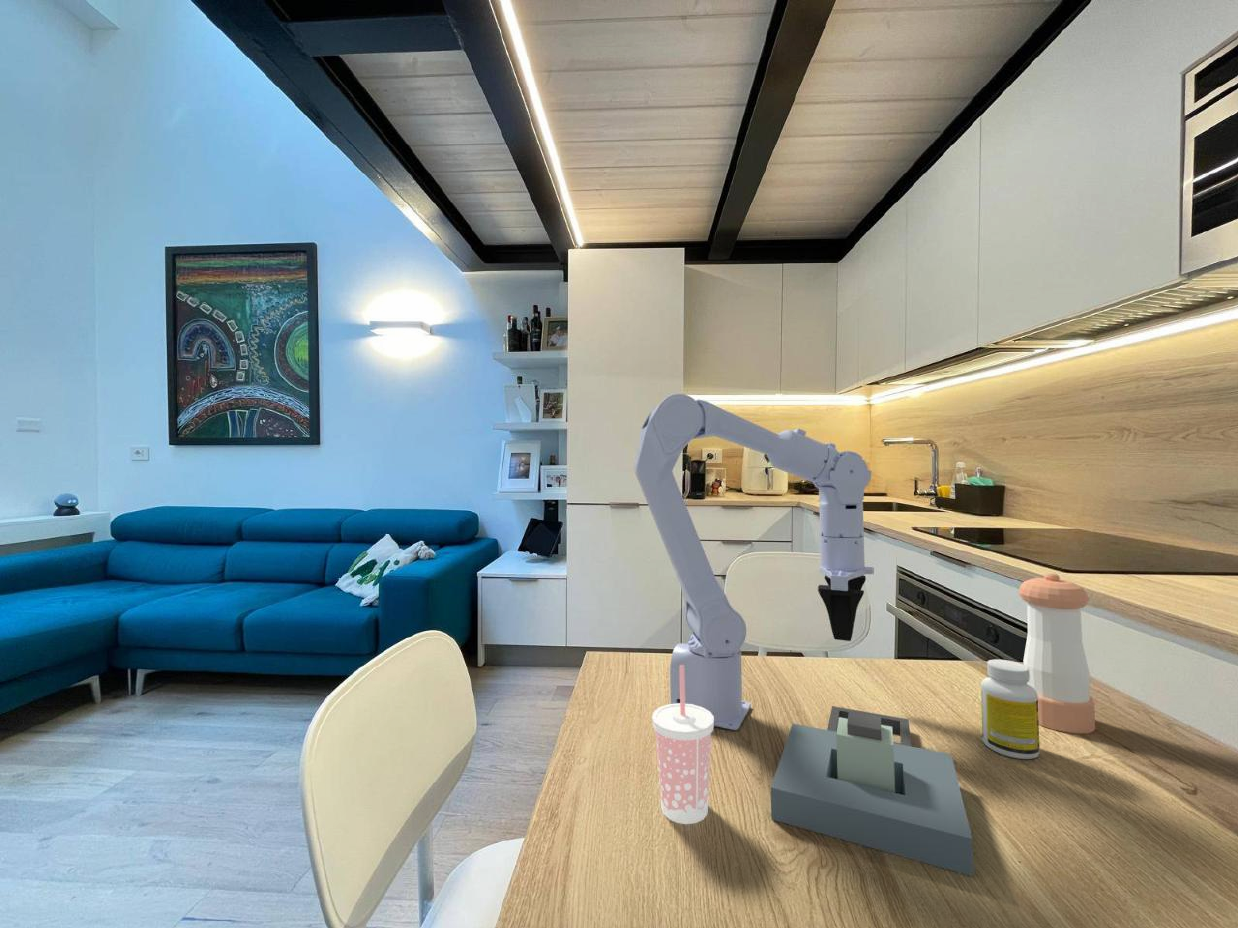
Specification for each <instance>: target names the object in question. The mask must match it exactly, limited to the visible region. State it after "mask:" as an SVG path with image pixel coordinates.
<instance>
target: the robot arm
mask: <svg viewBox="0 0 1238 928" xmlns="http://www.w3.org/2000/svg"><path fill="white" fill-rule="evenodd" d="M806 434H807V431H806V430H803V429H801V428H796V429H793V430H792V429H785V430H783V431H781V432H779V433H776V432H774V431H771V430H769V429H767V428H764V427H763V426H760V425H758V424H756V423H754V422H752V421H750V420H748V419H745V418H744V417H741V416H738V415H737V414H734V413H733V412H731V411H730V412H729V411H727V410H726V409H723V408H722V407H719V406H717V405H715V404H713V403H711V402H709V401H706V400H703V399H697V400H696V399H695V398H693V397H691V396H690V395H687V394H683V393H674V394H671V395H668V396H667V397H665V398H664V399H662V401H661V402H660V403H659V404H658V405H657V406H656V405H655V407H654V408H653V409H652V410H651V411H650V412H649V414H648V415H647V417H646V419H645V420H644V422H643V424H642V426H641V429H640V436H639V443H638V447H637V451H636V458H635V463H634V473H635V475H636V476H635V477H636V479H637V481H638V483H639V485H640V488H641V490H642V493H643V496H644V497H645V500H646V503H647V507H649V511H650V512H651V515H652V517H653V520H654V522H655V525H656V527H657V530H658V533H659V535H660V537H661V540H662V542H663V544H664V547H665V549H666V552H667V554H668V556H669V560H670V562H671V564H672V567H673V568H674V571H675V574H676V576H677V579H678V582H679V584H680V586H681V595H682V597H683V600H684V603H685V609H684V610H685V611H684V617H685V622H686V625H687V626H688V628H689V629H690V630H691V632H692V634H691V635H690V637H689V641H688V642H687V643H681V642H680V643H677V644H676V645H675V647H674V649H673V651H672V654H671V658H670V668H669V675H670V676H669V678H670V679H669V681H670V683H669V685H670V687H669V688H670V704H676V703H680V665H684V678H685V704H693V705H697V706H700V707H703V708H705V709H706V710H708V711H710V712H711V714H712V715H713V716H714V723H713V724H714V727H719V728H722V729H727V730H732V731H738V730H739V728H740V726H741V725H742V723H743V721H744V719H745V717H746V716H747V714H748V713H749V711H750V709H751V703H750V702H748V701H744V700H743V685H742V682H743V681H742V679H743V678H742V675H743V673H742V646H743V644H744V642H745V640H746V636H747V627H746V623H745V620H744V618H743V617H742V615H741V614H740V613H739V612H738V611H736V610H735V608H733V606H732V605H731V604H730V601H729V599H728V597H727V595H726V593H725V591H724V590H723V589H722V587H721V586H720V583H719V582H718V580H717V578H716V577H715V574H714V572H713V571H714V570H713V569H712V566H711V564H710V562H709V559H708V557H707V554H706V551H705V550H704V547H703V545H702V542H701V540H700V537H699V535H698V532H697V530H696V527H695V525H694V523H693V519H692V517H691V515H690V512H689V510H688V508H687V505H686V502H685V501H684V500H685V499H684V498H683V495H682V493H681V490H680V488H679V486H678V482H677V481H676V478H675V476H674V472H673V470H674V467H676V466H675V465H676V464H677V462H678V460H679V457H680V456H681V453H682V451H683V450H684V449H685V447H686V446H687V445H688V444H689V443H690V442H692V440H695V439H704V438H710V437H714V438H715V437H717V438H719V439H722V440H724V441H728V442H730V443H733V444H736V445H739V446H741V447H745V448H747V449H750V450H753V451H756V452H759V453H761V454H764V455H766V457H767V459H768V461H769V462H770V465H771V466H772V468H776V469H777V470H778V469H779V471H780V470H781V471H783V472H785V473H788V474H791V475H793V476H796V477H798V478H800V479H803V480H806V481H807V482H810V483H813V485H814V486H815V487H816V488H817V489H818V492H819V493H818V494H819V495H818V496H819V499H818V501H819V507H818V508H819V533H820V534H819V538H820V539H819V540H820V565H819V572H820V573H822V574H823V575H824V577H823V578H824V580H825V582H826V583H827V585H825V584H819V585H818V587H817V592H818V594H819V596H820V598H821V600H822V602H823V604H824V606H825V609H826V611H827V614H828V615H827V616H828V620H829V623H830V624H829V625H830V629H831V633H832V637H833V638H834V640H838V641H845V642H846V641H847V642H851V640H852V637H853V634H854V627H855V621H856V616H857V610H858V607H859V604H860V602H861V599H862V598H863V596H864V595H865V590H864V589H863V586H864V585H865V582H866V575H874V574H875V568H874V567H873V566H872V567H871V566H865V565H866V564H865V529H864V526H865V525H864V502H863V501H864V500H865V496H864V493H865V489H866V488H867V486H868V484H869V483H870V481H871V478H872V473H873V472H872V469H871V470H870V469H868V465H867V462H866V461H865V459H863V456H861V454H858V452H854V451H850V450H848V451H847V450H845V451H838V449H837V448H836V446H837V445H836V444H835V443H832V442H826V443H823V442H821V441H819V440H816V439H814V438H811V437H809V436H806ZM862 589H863V590H862Z"/></svg>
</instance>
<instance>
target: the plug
mask: <svg viewBox="0 0 1238 928" xmlns="http://www.w3.org/2000/svg"><path fill="white" fill-rule="evenodd" d="M893 733H894V732H893V731H892V727H891V726H885V725H881V717H878V716H872V715H866V714H861V713H855V712H849V714H848V719H846V718H841V717H839V720H838V727H837V734H836V738H837V773H838V778H837V779H838V780H842V781H846V782H851V783H855V784H859V785H863V786H868V787H872V788H876V789H880V790H885V791H889V792H893V793H896V791H895V779H894V747H893V742H894V736H893V735H894V734H893Z"/></svg>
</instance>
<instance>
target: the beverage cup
mask: <svg viewBox="0 0 1238 928" xmlns="http://www.w3.org/2000/svg"><path fill="white" fill-rule="evenodd" d="M651 720H652V727H653V729H654V731H655V743H656V754H657V756H656V757H657V769H658V780H659V781H658V782H659V795H660V807H661V811H662V813H663V815H664V816H665V818H667V819H668V820H669V821H672V822H674V823H676V824H682V825H683V824H684V825H691V824H692V825H693V824H697V823H699V822H702V821H703V820H704V819H705V818H707V816H708V812H709V795H710V794H709V792H710V791H709V790H710V789H709V788H710V769H711V768H710V767H711V766H710V765H711V763H710V762H711V743H712V741H711V738H712V733H713V731H714V727H715V726H714V724H713V723H714V716H713V715H712V714H711V712H710V711H708V710H706V709H705V708H703V707H700V706H697V705H693V704H685V678H684V665H680V703H676V704H671V703H669V704H665V705H662V706H659V707H658V708H657V709H655V710H654V711H653V713H652V716H651Z"/></svg>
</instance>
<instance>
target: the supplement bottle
mask: <svg viewBox="0 0 1238 928" xmlns="http://www.w3.org/2000/svg"><path fill="white" fill-rule="evenodd" d="M986 669H987V674H988V676H989V677H986V678H984V679H983V680H982V681H981V684H980V696H981V699H980V700H981V704H980V705H981V733H982V734H981V736H982V737H981V738H982V741H983V742H982V743H984V745H986V747H988V748H989V749H990V750H992V751H994V752H996V753H998V754H1000V755H1003V756H1005V757H1009V758H1015V759H1020V760H1031V759H1032V760H1033V759H1036V758H1037V757H1039V756H1040V746H1041V745H1040V729H1039V727H1040V725H1039V720H1038V696H1037V692H1036V691H1035V689H1034V688H1033V687H1031V686H1030V685H1028V684H1027V682H1029V679H1030V675H1029V668H1028V667H1027V666H1025V665H1024V663H1020V662H1017V661H1013V660H1006V659H989V660H988V661H987V666H986Z"/></svg>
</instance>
